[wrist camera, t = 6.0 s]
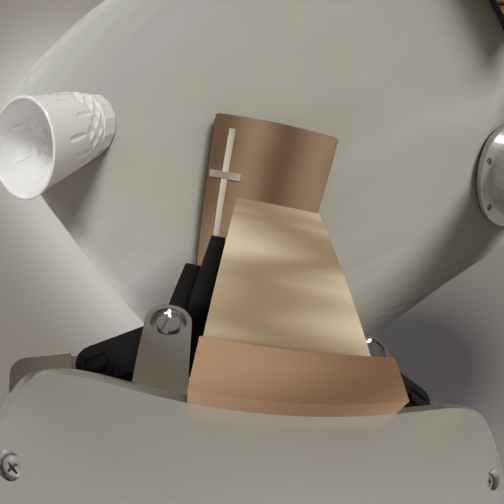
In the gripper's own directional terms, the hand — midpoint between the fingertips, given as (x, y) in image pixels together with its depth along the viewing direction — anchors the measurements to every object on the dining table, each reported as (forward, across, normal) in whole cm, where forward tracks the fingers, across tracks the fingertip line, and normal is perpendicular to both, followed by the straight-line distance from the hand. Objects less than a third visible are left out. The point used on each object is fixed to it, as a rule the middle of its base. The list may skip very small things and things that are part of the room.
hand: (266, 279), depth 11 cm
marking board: (+15, 0, +9) cm, 18 cm away
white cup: (+15, +18, -3) cm, 24 cm away
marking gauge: (+2, 0, 0) cm, 2 cm away
